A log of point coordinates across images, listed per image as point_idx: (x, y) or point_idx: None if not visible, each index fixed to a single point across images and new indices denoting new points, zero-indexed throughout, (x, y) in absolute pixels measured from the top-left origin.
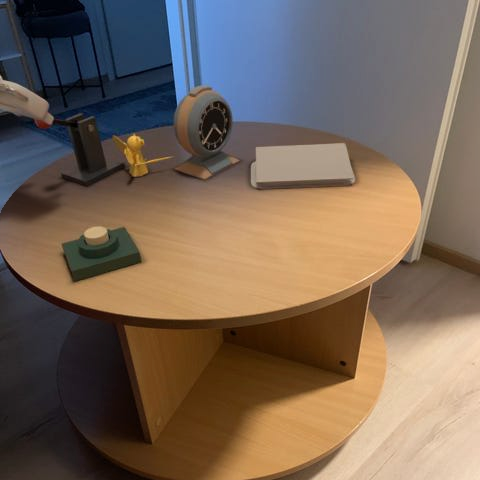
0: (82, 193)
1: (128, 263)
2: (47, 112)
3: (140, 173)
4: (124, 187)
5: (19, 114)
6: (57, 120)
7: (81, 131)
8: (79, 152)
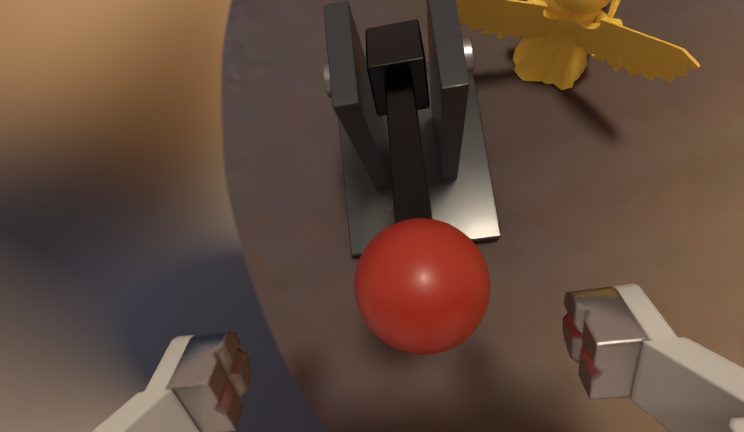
0: (536, 284)
1: None
2: (697, 343)
3: (585, 63)
4: (620, 157)
5: (238, 391)
6: (427, 190)
7: (462, 109)
8: (383, 156)
